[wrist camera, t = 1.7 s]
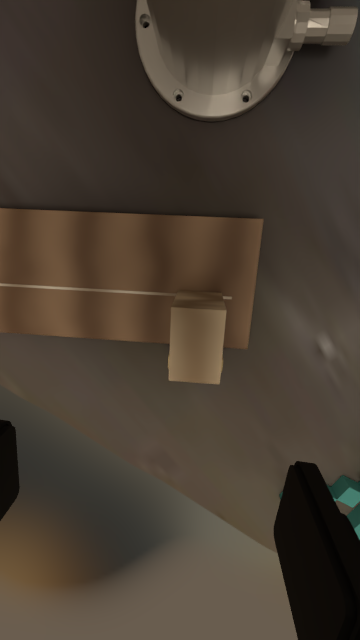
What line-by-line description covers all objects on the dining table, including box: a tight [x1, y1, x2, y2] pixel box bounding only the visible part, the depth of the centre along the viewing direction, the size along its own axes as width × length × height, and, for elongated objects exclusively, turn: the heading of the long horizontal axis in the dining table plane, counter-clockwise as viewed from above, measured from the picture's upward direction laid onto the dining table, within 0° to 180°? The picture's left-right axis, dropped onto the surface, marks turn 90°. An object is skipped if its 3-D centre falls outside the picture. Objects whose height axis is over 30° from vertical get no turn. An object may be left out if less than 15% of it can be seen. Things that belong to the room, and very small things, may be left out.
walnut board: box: [0, 208, 263, 349], centre depth 29 cm, size 30×12×3 cm, turn 88°
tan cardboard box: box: [168, 290, 226, 384], centre depth 26 cm, size 5×7×8 cm
